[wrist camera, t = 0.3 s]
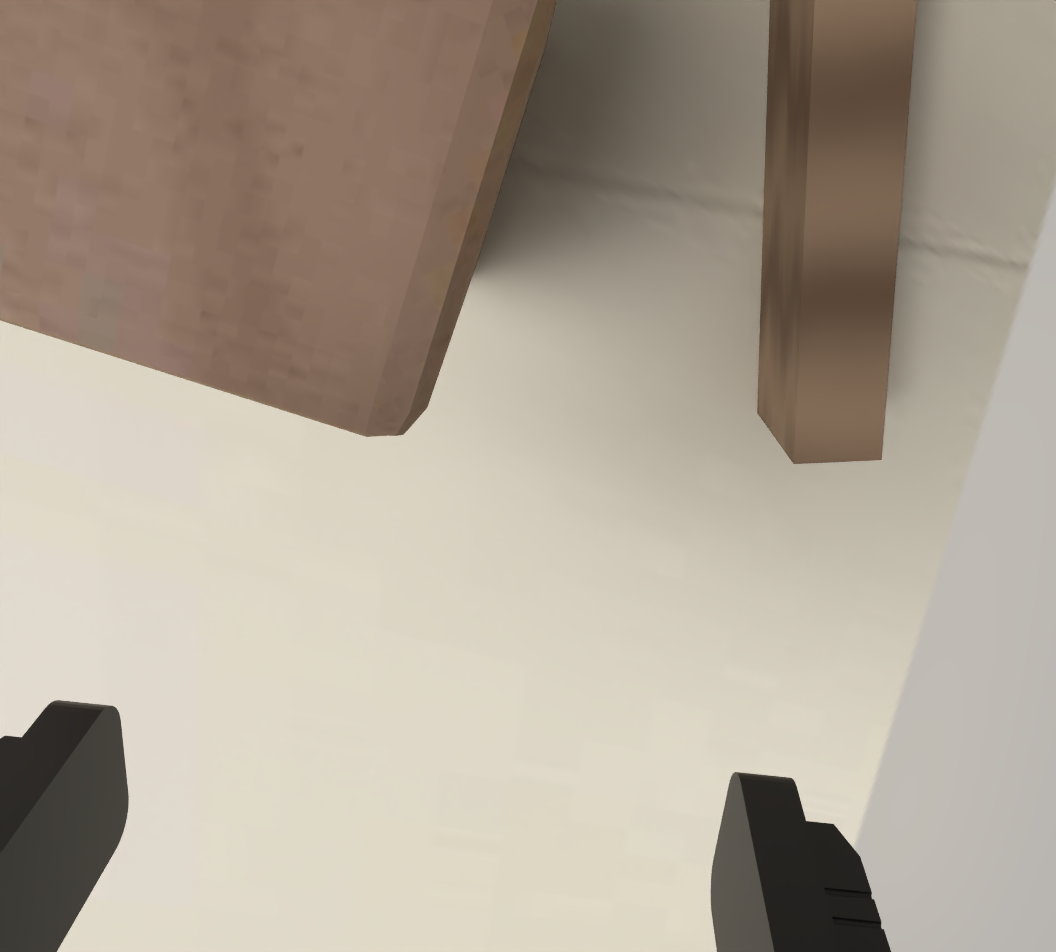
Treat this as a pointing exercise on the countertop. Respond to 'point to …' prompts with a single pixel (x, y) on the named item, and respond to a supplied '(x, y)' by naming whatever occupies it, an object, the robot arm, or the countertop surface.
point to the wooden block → (260, 186)
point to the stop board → (832, 221)
